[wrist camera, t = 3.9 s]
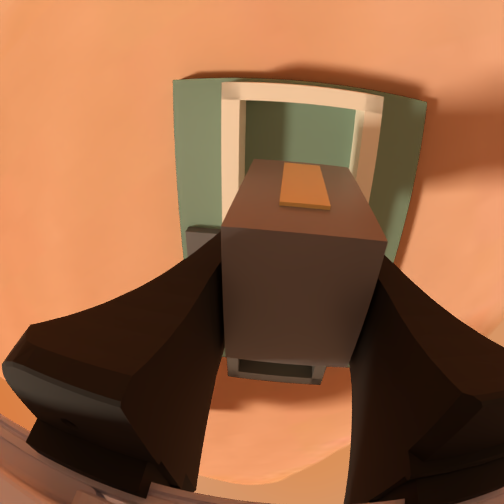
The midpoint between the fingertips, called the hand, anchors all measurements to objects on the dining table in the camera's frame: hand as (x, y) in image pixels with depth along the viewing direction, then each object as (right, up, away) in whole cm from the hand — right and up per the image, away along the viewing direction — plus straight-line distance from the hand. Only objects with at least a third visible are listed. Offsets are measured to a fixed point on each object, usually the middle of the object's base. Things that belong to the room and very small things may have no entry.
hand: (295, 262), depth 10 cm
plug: (0, +2, +2) cm, 3 cm away
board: (+1, +1, +9) cm, 9 cm away
